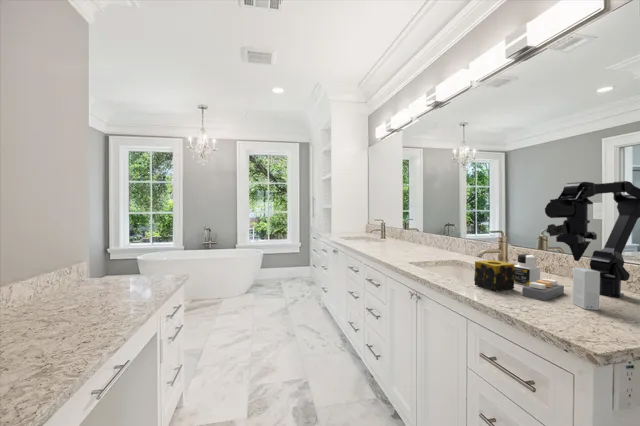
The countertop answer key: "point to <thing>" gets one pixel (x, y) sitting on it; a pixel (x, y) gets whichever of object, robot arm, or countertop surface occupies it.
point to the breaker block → (543, 292)
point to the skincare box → (586, 288)
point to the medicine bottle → (526, 270)
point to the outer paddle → (537, 285)
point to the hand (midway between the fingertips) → (576, 260)
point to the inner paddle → (550, 281)
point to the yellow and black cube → (494, 275)
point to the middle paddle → (548, 284)
